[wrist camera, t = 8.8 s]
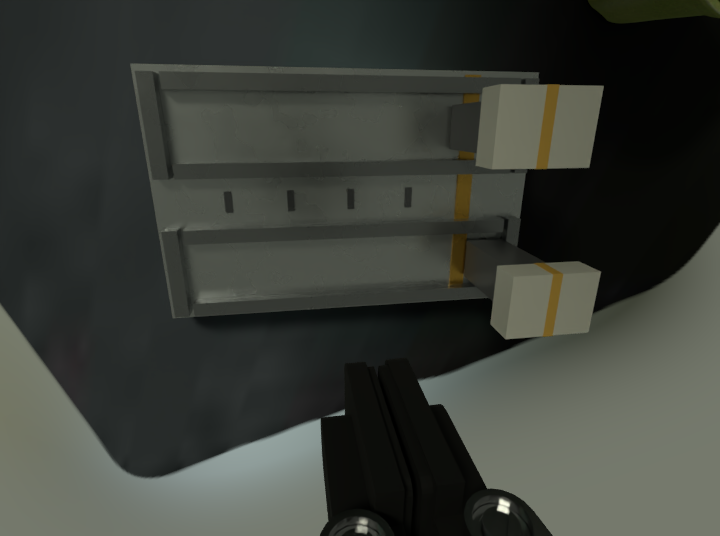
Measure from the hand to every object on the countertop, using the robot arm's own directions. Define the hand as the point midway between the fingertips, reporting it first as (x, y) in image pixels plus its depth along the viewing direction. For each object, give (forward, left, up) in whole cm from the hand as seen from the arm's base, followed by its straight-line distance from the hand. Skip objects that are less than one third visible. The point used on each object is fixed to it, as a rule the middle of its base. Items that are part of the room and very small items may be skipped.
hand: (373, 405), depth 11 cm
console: (-3, +1, -17) cm, 17 cm away
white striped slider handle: (-7, +8, -15) cm, 18 cm away
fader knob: (+1, +10, -15) cm, 18 cm away
